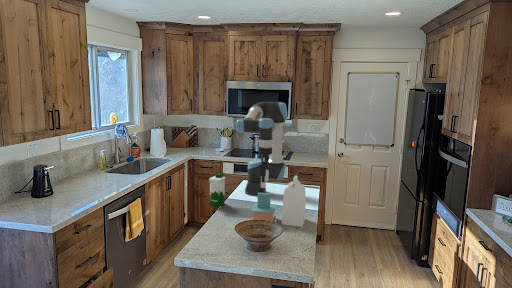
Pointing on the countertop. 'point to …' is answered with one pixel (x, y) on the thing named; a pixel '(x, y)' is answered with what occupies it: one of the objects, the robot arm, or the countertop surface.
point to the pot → (263, 216)
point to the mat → (239, 212)
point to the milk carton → (217, 190)
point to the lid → (264, 204)
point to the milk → (294, 204)
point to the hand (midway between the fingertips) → (264, 184)
